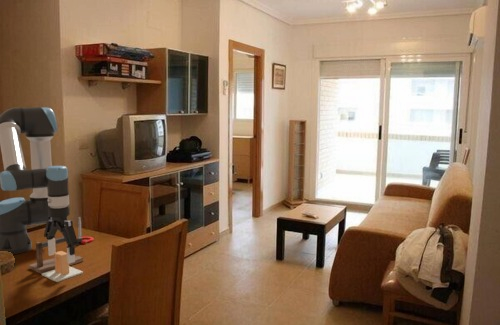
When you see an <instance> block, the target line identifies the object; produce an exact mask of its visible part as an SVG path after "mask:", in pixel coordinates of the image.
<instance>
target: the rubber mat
mask: <svg viewBox="0 0 500 325" xmlns="http://www.w3.org/2000/svg"><path fill="white" fill-rule="evenodd" d="M82 274H84V271H83V270H81V269H77V268H76V267H73V266H71V265H70V266H69V273H68V274H65V275H61V273H60V272H59V273H56V272H55V270H51V271H48V272H45V273H42V274H41V276H42V277H45V278H47V279H49V280H51V281H53V282H56V283H59V282H61V281H65V280H68V279H70V278H73V277H76V276H78V275H82Z"/></svg>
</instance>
